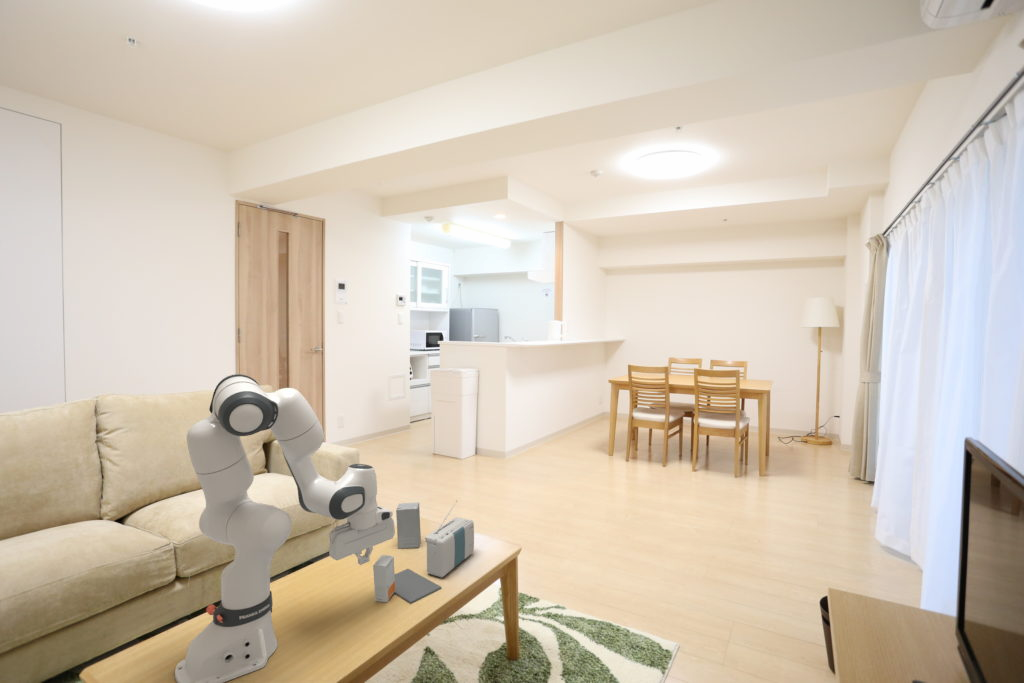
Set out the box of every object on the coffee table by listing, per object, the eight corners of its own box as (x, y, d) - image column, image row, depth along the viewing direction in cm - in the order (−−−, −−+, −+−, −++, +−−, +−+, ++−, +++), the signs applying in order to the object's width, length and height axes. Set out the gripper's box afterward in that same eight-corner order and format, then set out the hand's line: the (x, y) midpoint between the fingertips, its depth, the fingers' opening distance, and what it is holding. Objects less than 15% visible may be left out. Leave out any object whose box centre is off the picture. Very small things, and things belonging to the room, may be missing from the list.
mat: (410, 603, 150) (410, 602, 150) (377, 583, 162) (377, 581, 162) (441, 588, 159) (441, 586, 159) (407, 570, 171) (407, 568, 171)
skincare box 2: (420, 541, 195) (420, 501, 194) (418, 549, 188) (418, 508, 187) (399, 541, 194) (399, 501, 194) (396, 549, 187) (395, 508, 187)
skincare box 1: (387, 603, 151) (385, 566, 149) (374, 601, 152) (372, 565, 150) (396, 590, 157) (394, 555, 155) (383, 589, 158) (381, 554, 156)
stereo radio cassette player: (443, 580, 164) (443, 521, 164) (423, 575, 168) (423, 517, 167) (475, 554, 183) (475, 501, 183) (456, 550, 187) (456, 498, 186)
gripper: (335, 532, 138) (336, 580, 139) (397, 510, 153) (398, 553, 154) (324, 525, 142) (325, 572, 143) (385, 505, 157) (386, 547, 158)
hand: (363, 562), depth 148 cm, fingers closed
